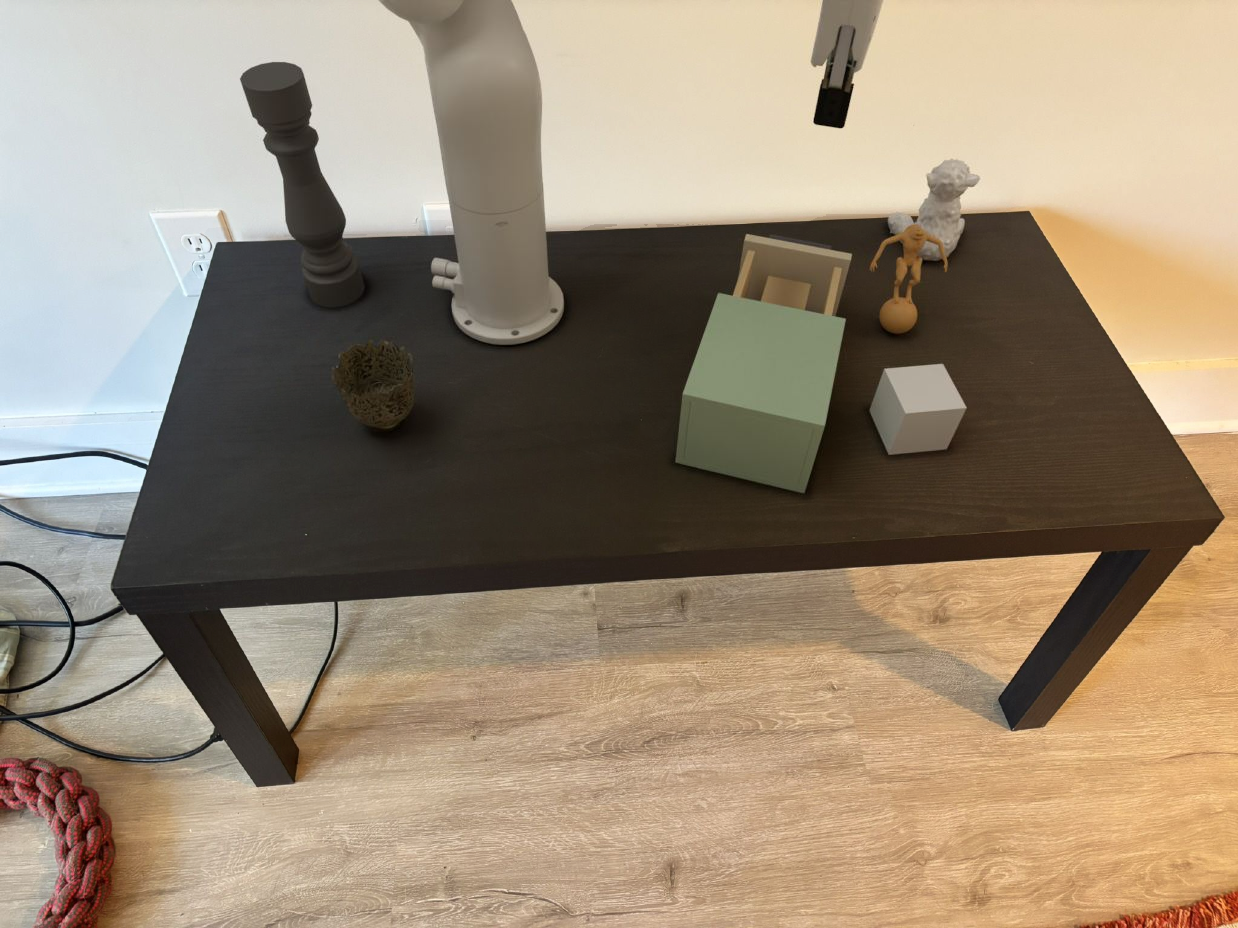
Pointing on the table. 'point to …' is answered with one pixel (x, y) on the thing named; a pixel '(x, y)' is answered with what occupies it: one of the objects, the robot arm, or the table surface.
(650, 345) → the table surface
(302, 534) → the table surface
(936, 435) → the white cube
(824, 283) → the drawer
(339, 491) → the table surface
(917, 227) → the figurine
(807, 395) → the cabinet
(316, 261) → the candle holder
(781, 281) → the block
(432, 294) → the table surface
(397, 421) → the cup
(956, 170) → the white creature statuette
